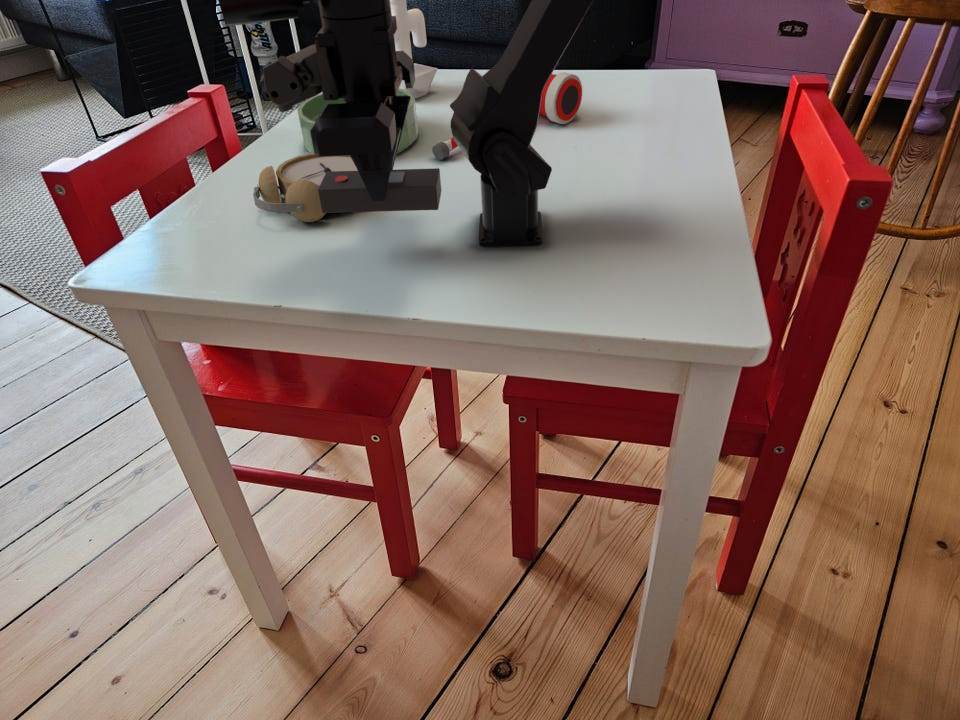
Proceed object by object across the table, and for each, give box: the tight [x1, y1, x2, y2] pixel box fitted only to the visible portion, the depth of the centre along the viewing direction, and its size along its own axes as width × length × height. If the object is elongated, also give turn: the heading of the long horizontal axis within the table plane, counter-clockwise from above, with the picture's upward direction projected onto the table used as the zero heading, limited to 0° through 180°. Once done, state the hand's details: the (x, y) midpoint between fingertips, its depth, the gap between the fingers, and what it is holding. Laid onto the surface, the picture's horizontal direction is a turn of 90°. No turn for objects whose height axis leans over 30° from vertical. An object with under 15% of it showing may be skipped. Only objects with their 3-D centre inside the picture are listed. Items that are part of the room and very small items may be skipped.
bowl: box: [296, 88, 420, 154], centre depth 93 cm, size 15×15×5 cm
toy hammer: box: [431, 72, 583, 161], centre depth 93 cm, size 23×12×6 cm, turn 137°
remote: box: [318, 167, 442, 214], centre depth 67 cm, size 11×4×2 cm, turn 88°
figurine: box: [390, 0, 439, 100], centre depth 104 cm, size 7×9×15 cm
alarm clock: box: [252, 152, 358, 223], centre depth 80 cm, size 11×5×15 cm
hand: (381, 189), depth 67 cm, fingers closed on remote, 4 cm apart
